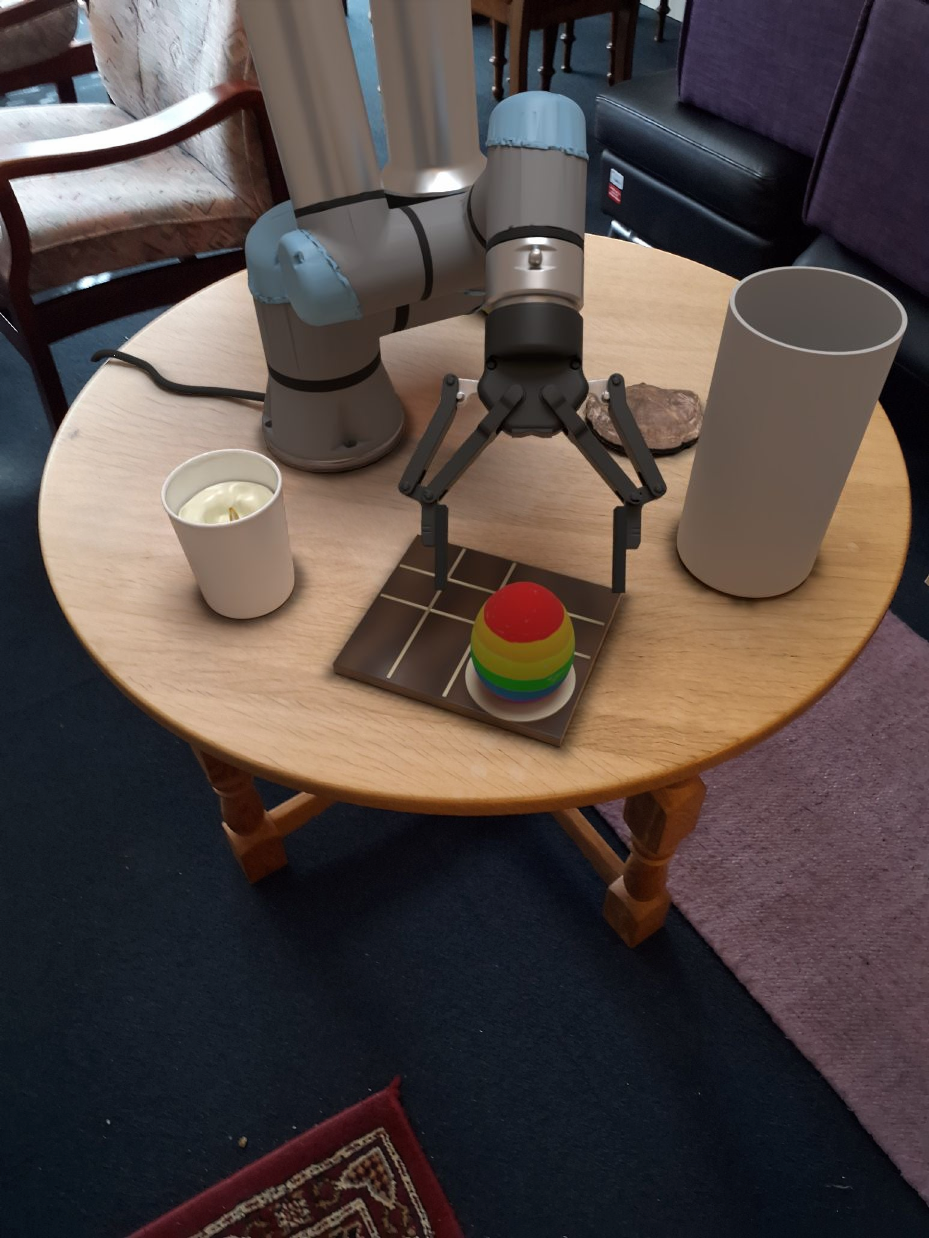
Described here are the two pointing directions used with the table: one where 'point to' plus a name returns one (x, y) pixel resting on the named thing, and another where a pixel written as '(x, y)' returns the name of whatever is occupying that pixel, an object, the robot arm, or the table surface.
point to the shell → (652, 418)
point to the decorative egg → (522, 643)
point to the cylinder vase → (784, 424)
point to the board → (468, 638)
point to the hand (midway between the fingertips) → (529, 592)
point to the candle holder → (233, 530)
